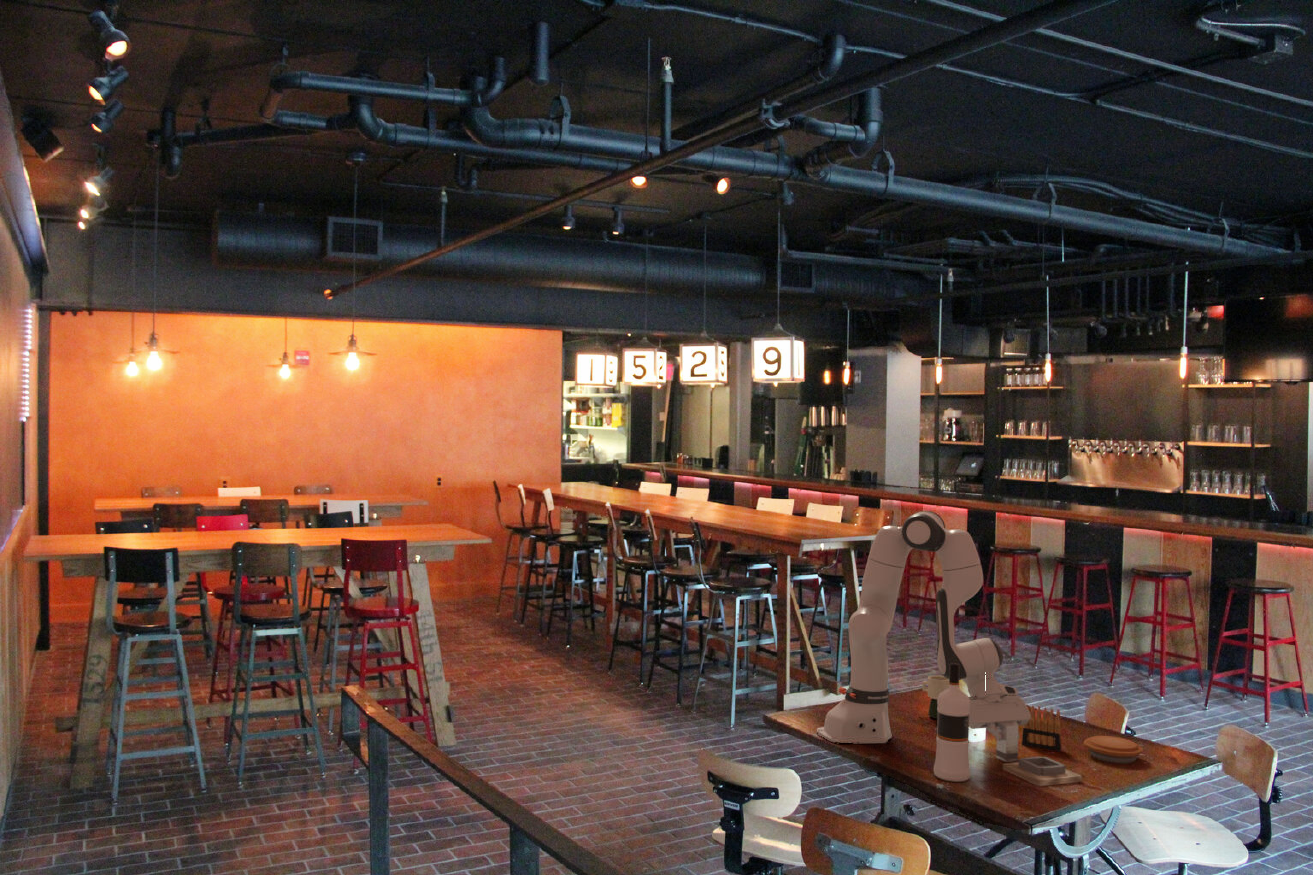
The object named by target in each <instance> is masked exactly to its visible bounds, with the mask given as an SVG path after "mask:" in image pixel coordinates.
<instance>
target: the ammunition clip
mask: <svg viewBox="0 0 1313 875" xmlns="http://www.w3.org/2000/svg"><path fill="white" fill-rule="evenodd" d="M1025 704H1026V703H1025ZM1026 706H1027V708H1028V710H1029V706H1028V704H1026ZM1053 709H1054V708H1052V707H1051V708H1050V711H1049V717H1048V709H1047V707H1044V709H1043V712H1042V710H1041V706H1038V707H1037V711H1035V710H1036V709H1035V706H1034V705H1032V706H1031V709H1030V710H1029V711H1030V714H1031V719H1030V721H1029V722H1028V723H1027V724H1025V725H1022V738H1021V739H1022V740H1021V745H1022V746H1024V747H1025V746H1026V747H1030V748H1031V747H1032V748H1036V749H1042V750H1047V751H1048V750H1049V751H1053V752H1061V751H1062V734H1061V733H1062V732H1061V731H1062V729H1061V728H1062V727H1061V726H1062V723H1061V713H1060V710H1059V709H1057V710H1056V715H1055V714H1054V710H1053ZM1042 713H1043V714H1042Z"/></svg>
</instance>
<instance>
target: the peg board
mask: <svg viewBox="0 0 1313 875" xmlns="http://www.w3.org/2000/svg"><path fill="white" fill-rule="evenodd" d="M1002 770H1004V771H1006V772H1008V773H1009V774H1011V775H1015V777H1019V779H1020V778H1021V779H1022V780H1025V781H1026V782H1028V783H1031V784H1034V786H1037V787H1046V786H1054V785H1061V784H1062V785H1063V784H1072V783H1073V784H1074V783H1082V779H1083V776H1082V775H1080V774H1078V773H1076V772H1074V771H1071V770H1069V769H1066V764H1063V763H1060V761H1059V762H1058V761H1056V760H1053V759H1052V758H1050V757H1047V756H1042V755H1041V756H1029V757H1021V758H1018V761H1015V762H1004V763H1002Z"/></svg>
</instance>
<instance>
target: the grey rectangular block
mask: <svg viewBox="0 0 1313 875" xmlns="http://www.w3.org/2000/svg"><path fill="white" fill-rule="evenodd" d="M996 729H997V730H998V732H1002V734H1003V736H1004V739H1003V740H1002V741H997V740H996V749H995V756H996V759H998V760H1000V761H1002V762H1004V763H1014V762H1018V760H1019V753H1018V752H1019V749H1018V748H1019V739H1018V733H1019V725H1016V724H1014V723H1011V722H998V723H997V727H996Z"/></svg>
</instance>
